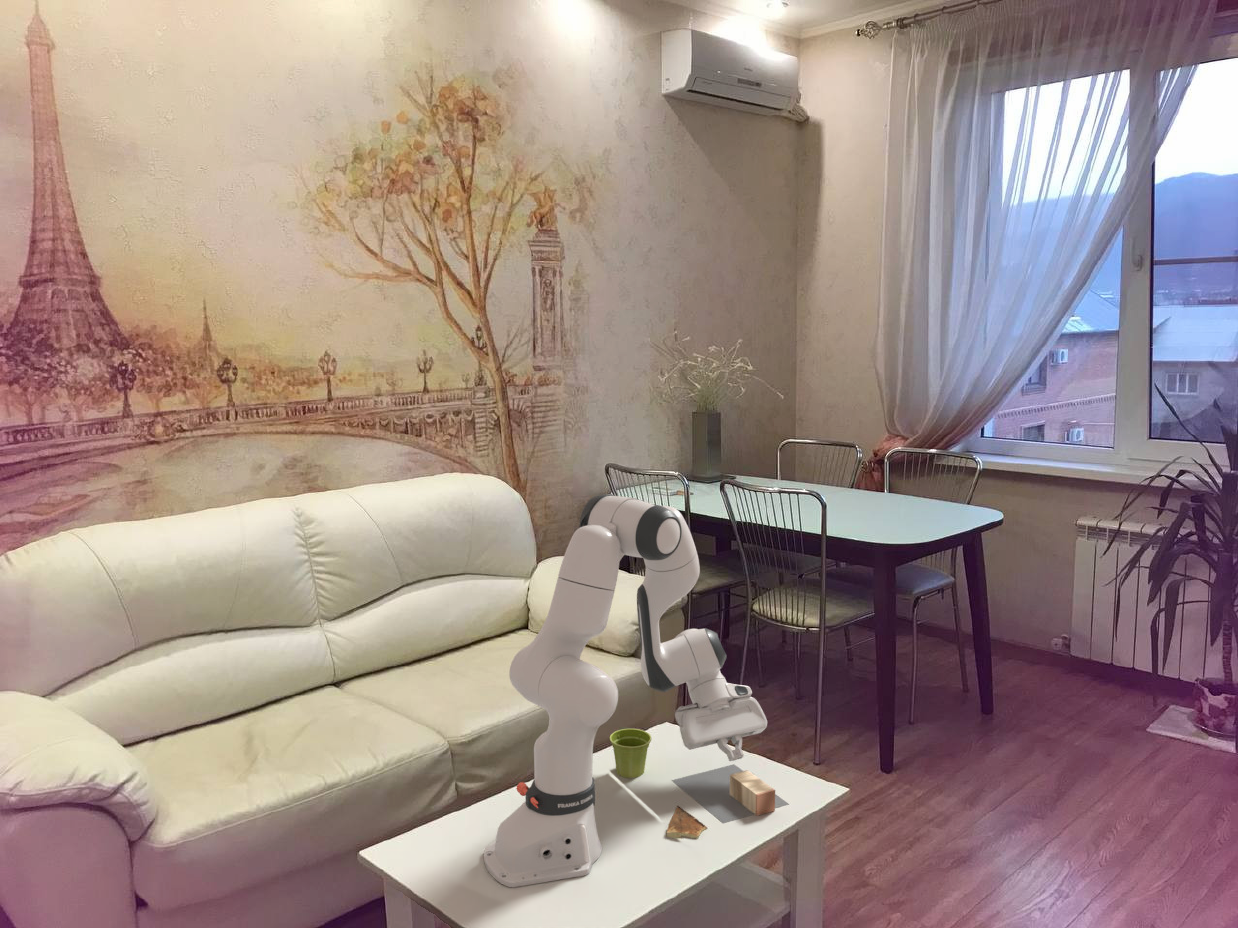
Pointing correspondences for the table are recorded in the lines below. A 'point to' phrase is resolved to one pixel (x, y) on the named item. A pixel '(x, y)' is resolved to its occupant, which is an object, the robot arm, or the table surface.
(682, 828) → the shard
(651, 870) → the table surface
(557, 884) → the table surface
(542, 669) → the robot arm
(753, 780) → the birch block
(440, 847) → the table surface
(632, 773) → the plant pot
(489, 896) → the table surface
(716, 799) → the rubber mat
